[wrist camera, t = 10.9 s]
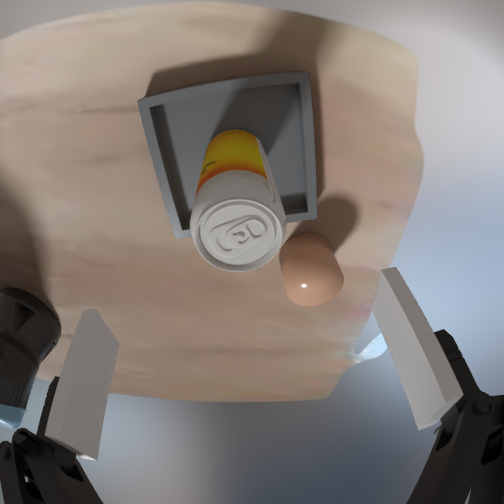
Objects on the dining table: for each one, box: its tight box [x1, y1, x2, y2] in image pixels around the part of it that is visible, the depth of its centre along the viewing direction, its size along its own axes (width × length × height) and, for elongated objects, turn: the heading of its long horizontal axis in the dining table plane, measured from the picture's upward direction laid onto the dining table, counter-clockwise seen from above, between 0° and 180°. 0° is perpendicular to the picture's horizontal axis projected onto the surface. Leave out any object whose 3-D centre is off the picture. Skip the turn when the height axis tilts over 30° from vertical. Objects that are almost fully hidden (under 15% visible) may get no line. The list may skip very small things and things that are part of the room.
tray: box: [137, 71, 317, 239], centre depth 29 cm, size 16×16×3 cm
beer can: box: [190, 130, 287, 272], centre depth 24 cm, size 6×6×15 cm
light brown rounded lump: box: [279, 233, 344, 306], centre depth 37 cm, size 7×7×6 cm
